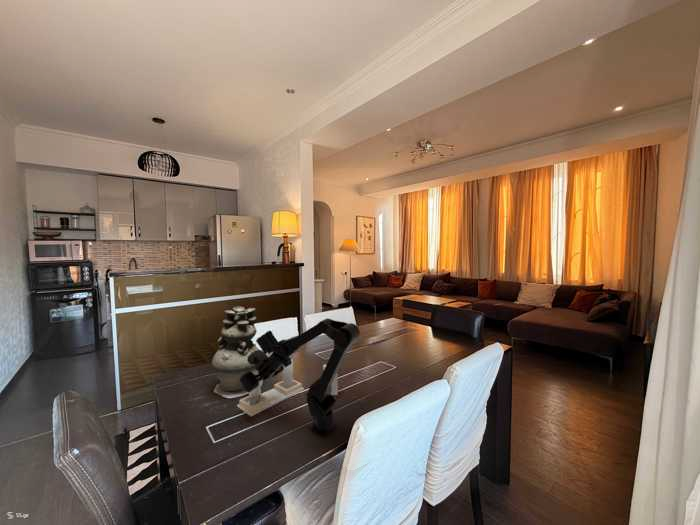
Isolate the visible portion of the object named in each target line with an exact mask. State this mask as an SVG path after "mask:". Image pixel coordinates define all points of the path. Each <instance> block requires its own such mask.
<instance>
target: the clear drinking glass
mask: <svg viewBox="0 0 700 525" xmlns="http://www.w3.org/2000/svg"><path fill="white" fill-rule="evenodd" d="M252 373H253V374H254V376H256V375H258V371H252ZM259 378H260V377H259ZM261 387H262V386H261V384H260V381H259V386H258V387H257V388H255V389H254V390H252V391H251V392H249V393H248V396H249V405H251V406H253V405H255V404H257V403H259V402H261V393H262V391H261V390H262V389H261Z"/></svg>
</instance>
